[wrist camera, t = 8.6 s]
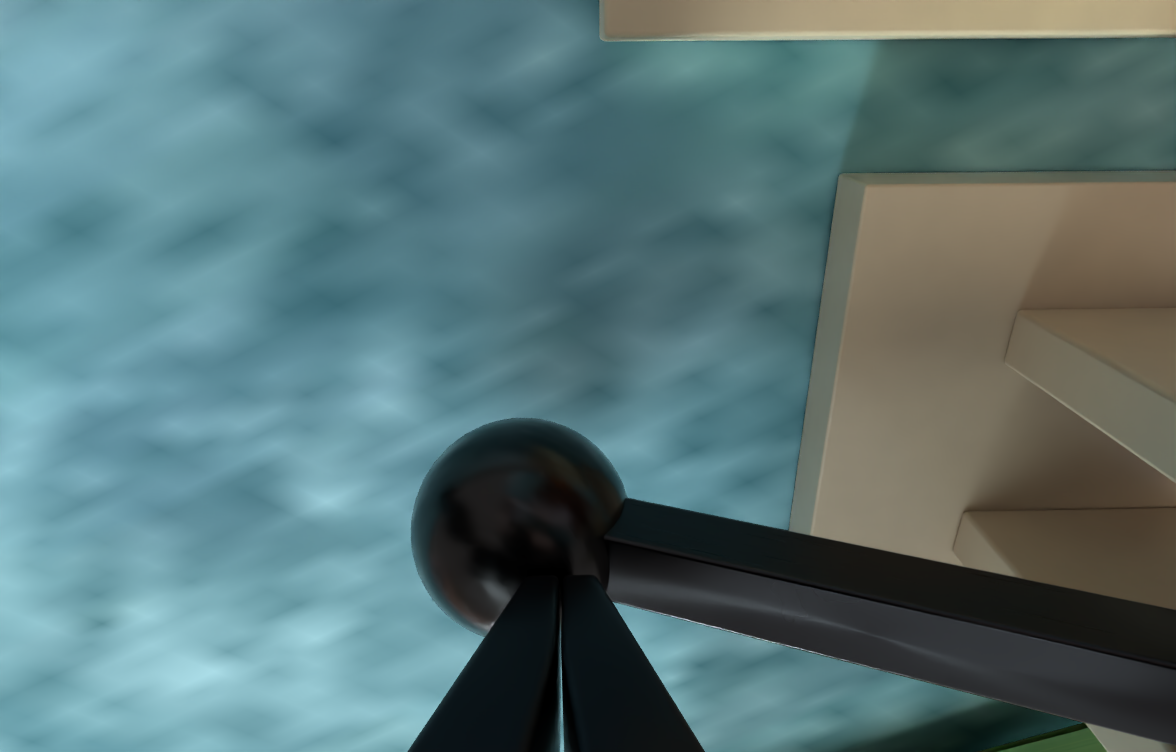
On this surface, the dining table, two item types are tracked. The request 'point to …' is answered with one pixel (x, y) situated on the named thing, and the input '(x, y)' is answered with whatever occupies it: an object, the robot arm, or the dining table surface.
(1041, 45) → the dining table surface
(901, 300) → the lever stand
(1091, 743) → the edible corn
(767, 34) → the control block
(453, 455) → the black lever handle
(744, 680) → the dining table surface
